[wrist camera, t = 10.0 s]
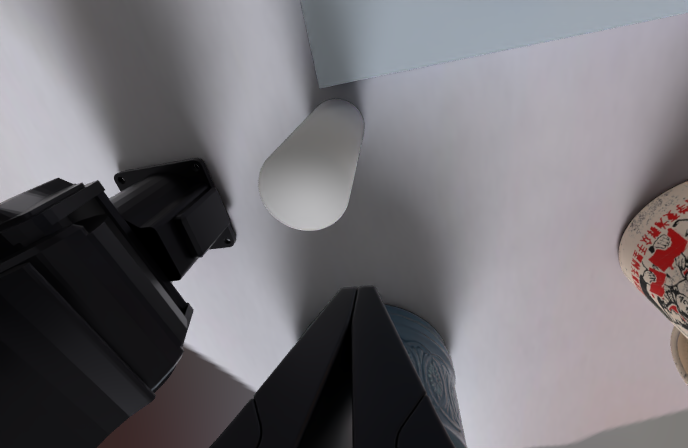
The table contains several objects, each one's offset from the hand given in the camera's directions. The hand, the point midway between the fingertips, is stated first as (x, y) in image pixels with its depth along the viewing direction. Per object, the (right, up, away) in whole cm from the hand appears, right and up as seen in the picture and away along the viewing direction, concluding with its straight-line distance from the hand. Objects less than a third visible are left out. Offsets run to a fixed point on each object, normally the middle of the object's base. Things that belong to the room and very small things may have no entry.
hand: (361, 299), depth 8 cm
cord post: (-1, +8, +11) cm, 13 cm away
